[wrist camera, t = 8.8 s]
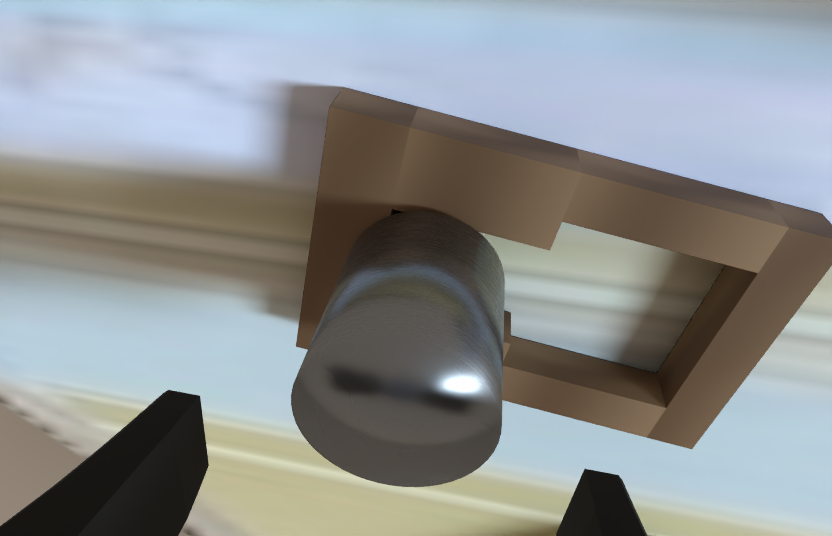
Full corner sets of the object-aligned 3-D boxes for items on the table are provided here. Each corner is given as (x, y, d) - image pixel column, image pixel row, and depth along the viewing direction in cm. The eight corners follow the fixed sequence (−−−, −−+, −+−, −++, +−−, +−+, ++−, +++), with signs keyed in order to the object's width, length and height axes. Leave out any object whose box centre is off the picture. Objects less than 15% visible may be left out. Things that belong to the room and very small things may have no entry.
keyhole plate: (822, 213, 16) (848, 243, 15) (681, 413, 20) (692, 449, 19) (344, 87, 16) (329, 106, 14) (309, 317, 20) (295, 346, 19)
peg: (537, 247, 18) (548, 426, 12) (437, 328, 20) (407, 511, 14) (423, 150, 16) (376, 298, 11) (331, 247, 19) (252, 412, 13)
